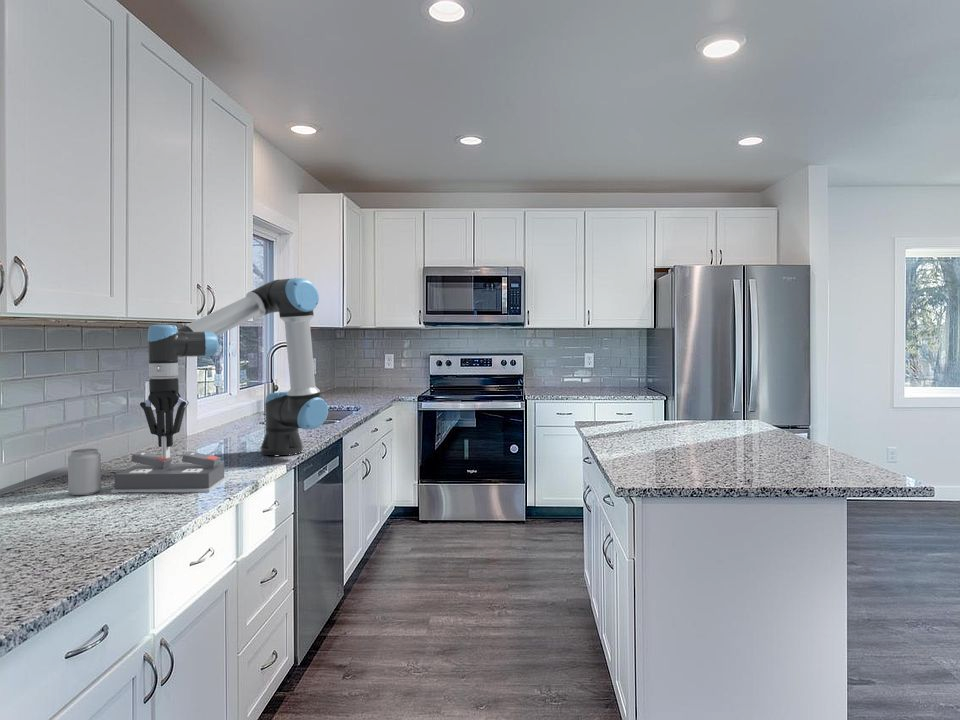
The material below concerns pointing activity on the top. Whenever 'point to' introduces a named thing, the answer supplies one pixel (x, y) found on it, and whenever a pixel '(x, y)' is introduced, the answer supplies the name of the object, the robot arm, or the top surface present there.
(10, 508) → the top surface
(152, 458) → the rocker
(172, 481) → the power strip
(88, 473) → the can
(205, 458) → the block
